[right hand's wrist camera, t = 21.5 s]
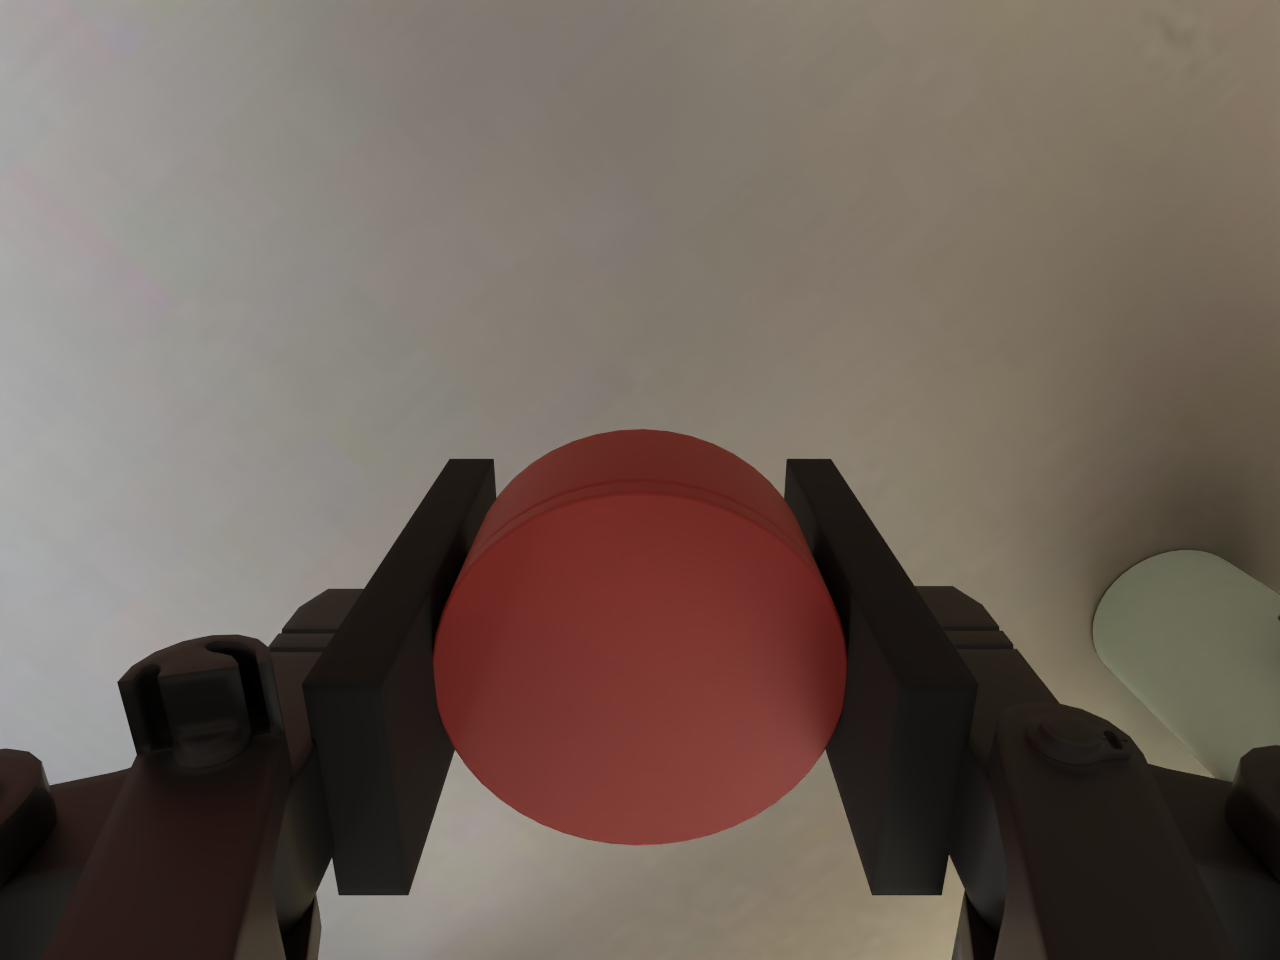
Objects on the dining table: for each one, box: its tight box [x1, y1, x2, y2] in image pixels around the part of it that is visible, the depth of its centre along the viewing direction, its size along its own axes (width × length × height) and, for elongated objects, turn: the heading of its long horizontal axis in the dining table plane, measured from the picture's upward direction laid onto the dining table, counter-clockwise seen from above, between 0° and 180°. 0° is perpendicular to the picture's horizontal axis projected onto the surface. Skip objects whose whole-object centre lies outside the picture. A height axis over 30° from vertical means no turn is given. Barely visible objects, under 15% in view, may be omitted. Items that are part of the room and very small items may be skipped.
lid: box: [432, 429, 848, 845], centre depth 11 cm, size 5×5×2 cm
